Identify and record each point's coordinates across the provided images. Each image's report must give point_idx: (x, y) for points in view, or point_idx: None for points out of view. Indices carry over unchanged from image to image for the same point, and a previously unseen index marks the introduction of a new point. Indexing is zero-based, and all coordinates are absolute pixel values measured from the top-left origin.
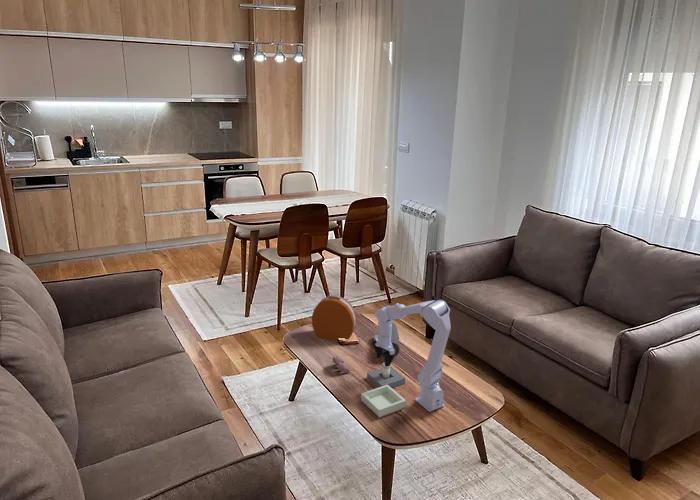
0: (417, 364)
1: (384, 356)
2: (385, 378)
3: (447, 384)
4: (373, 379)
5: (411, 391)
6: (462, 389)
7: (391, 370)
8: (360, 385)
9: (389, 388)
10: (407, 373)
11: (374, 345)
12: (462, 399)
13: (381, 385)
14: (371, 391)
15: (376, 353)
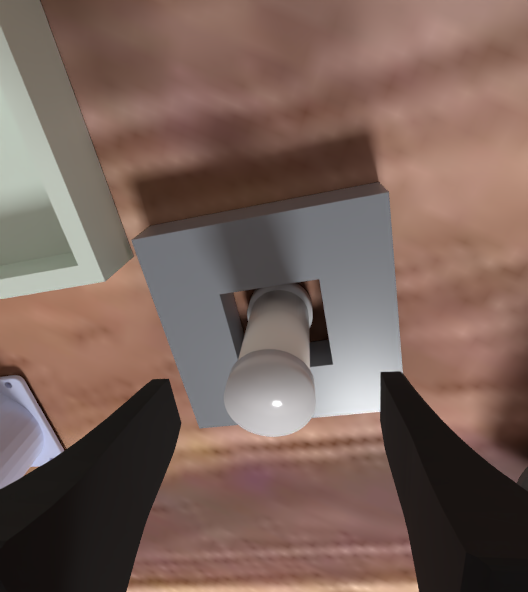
0: (379, 535)
1: (32, 494)
2: (252, 310)
3: (147, 552)
4: (272, 210)
5: (114, 394)
6: None
7: (330, 393)
8: (279, 66)
9: (44, 272)
10: (310, 456)
11: (464, 549)
12: None
13: (146, 236)
14: (2, 86)
15: (400, 412)
